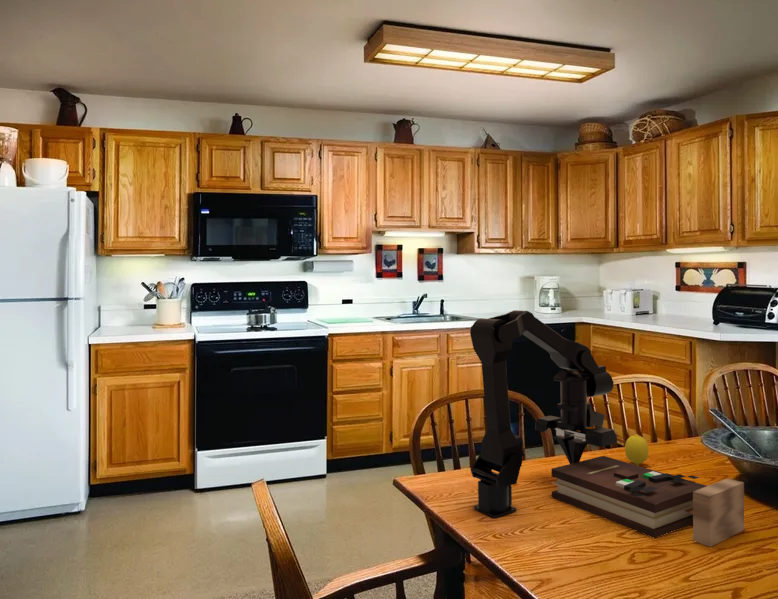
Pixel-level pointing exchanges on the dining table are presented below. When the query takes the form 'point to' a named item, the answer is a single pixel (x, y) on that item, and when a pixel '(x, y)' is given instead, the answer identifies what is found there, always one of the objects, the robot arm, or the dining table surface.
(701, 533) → the bookend
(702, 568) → the dining table surface
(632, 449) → the lemon
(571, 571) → the dining table surface
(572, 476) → the decorative book
